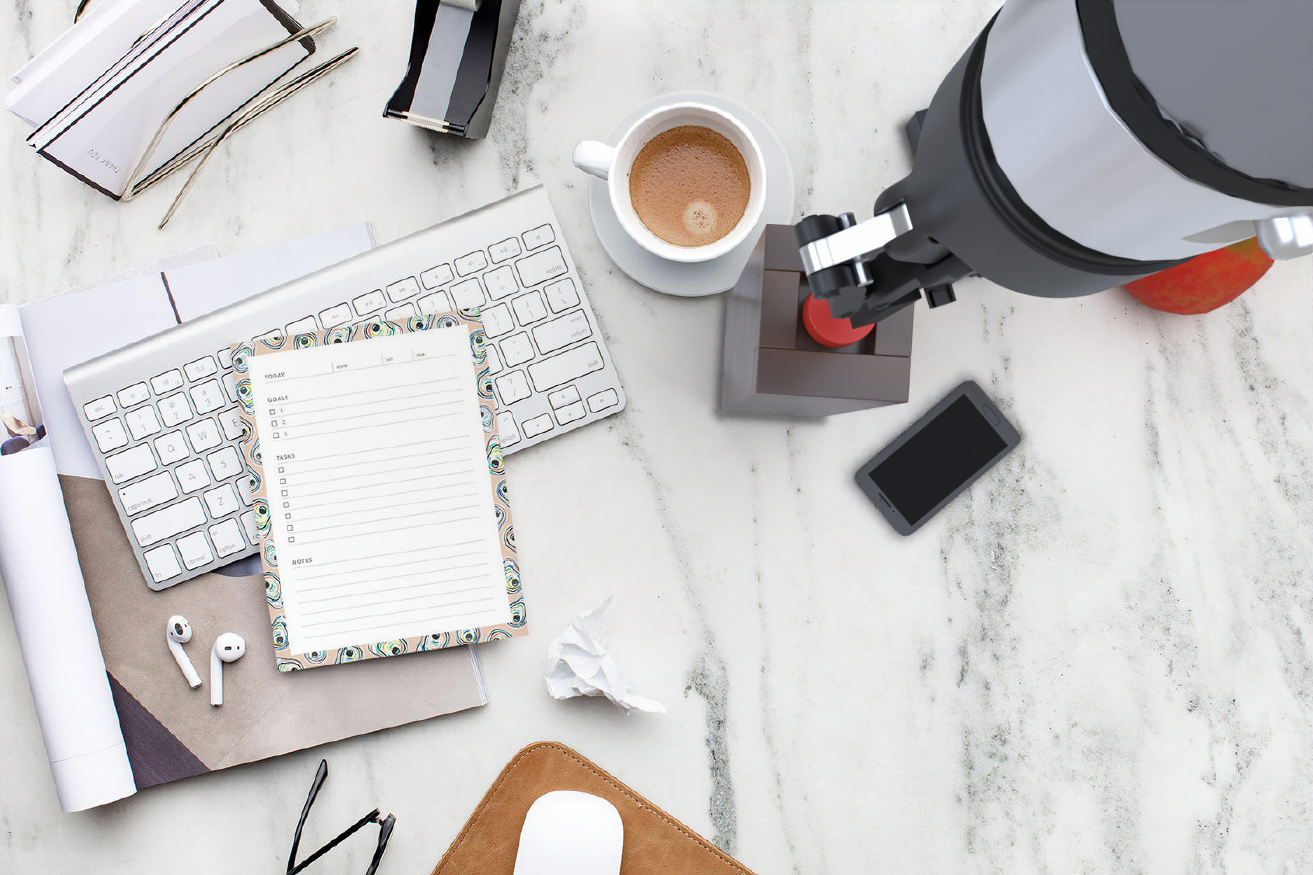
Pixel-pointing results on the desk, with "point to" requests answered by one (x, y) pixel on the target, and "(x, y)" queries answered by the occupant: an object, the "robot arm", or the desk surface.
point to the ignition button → (830, 325)
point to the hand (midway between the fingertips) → (858, 301)
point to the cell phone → (937, 458)
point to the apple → (1204, 280)
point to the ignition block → (803, 345)
